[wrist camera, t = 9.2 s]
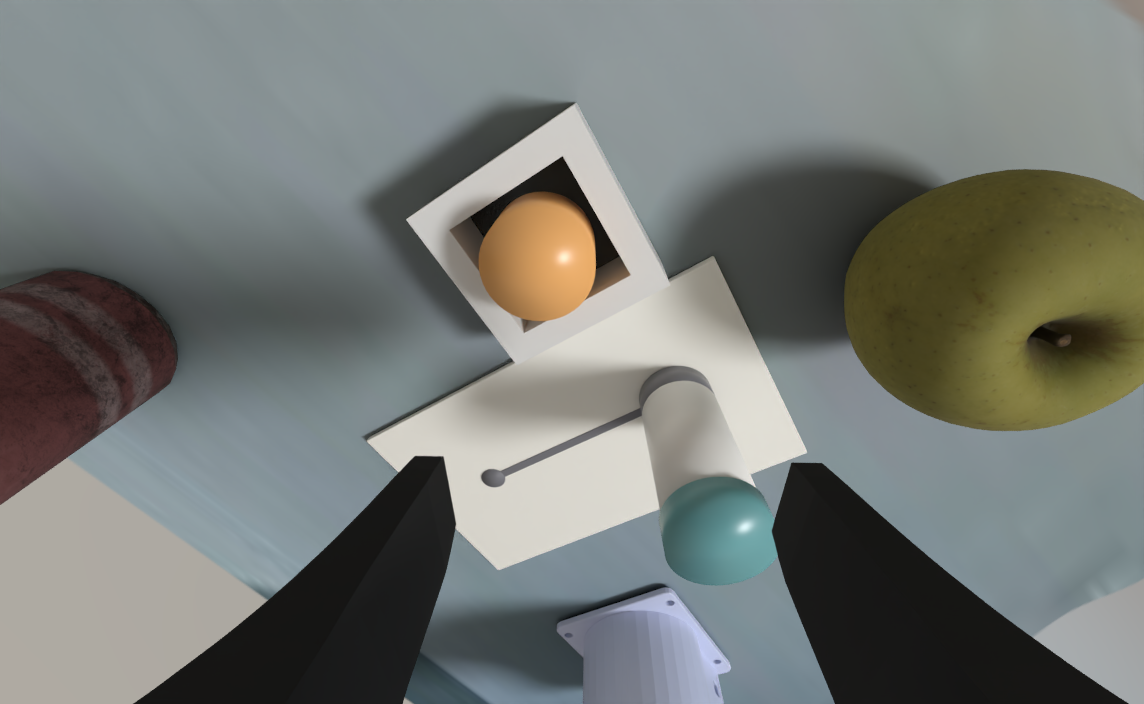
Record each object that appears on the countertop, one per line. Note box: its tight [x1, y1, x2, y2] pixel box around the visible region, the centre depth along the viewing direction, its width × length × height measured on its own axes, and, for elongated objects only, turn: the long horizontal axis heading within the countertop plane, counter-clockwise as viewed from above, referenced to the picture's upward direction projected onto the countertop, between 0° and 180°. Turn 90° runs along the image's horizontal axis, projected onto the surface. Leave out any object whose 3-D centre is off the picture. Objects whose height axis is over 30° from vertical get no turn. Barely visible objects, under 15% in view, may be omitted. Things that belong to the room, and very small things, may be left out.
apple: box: [844, 169, 1144, 431], centre depth 15 cm, size 8×8×7 cm
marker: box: [639, 366, 778, 585], centre depth 18 cm, size 3×3×8 cm
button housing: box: [406, 103, 670, 365], centre depth 17 cm, size 6×6×2 cm
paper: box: [367, 256, 808, 570], centre depth 23 cm, size 11×18×1 cm, turn 121°
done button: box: [478, 191, 596, 321], centre depth 16 cm, size 4×4×2 cm
